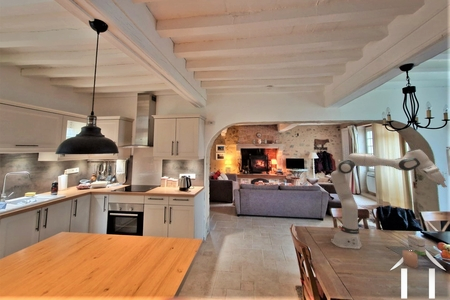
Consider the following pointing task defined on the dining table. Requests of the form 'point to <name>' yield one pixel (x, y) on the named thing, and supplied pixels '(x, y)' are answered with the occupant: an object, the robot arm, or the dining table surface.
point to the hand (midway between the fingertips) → (442, 185)
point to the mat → (399, 251)
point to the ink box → (416, 244)
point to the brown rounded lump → (410, 258)
